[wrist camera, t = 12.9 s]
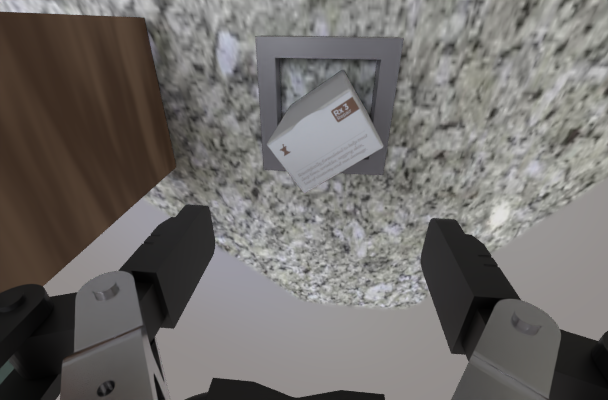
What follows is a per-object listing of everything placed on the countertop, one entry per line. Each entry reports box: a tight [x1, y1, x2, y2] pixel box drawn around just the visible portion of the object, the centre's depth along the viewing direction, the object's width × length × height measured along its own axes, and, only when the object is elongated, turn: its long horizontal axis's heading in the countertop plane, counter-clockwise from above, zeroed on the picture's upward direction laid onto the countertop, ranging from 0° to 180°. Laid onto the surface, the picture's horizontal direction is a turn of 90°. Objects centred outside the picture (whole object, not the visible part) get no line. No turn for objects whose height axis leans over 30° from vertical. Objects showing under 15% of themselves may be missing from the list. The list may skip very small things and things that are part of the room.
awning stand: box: [0, 12, 176, 384], centre depth 18 cm, size 6×15×26 cm, turn 179°
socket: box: [255, 36, 404, 175], centre depth 28 cm, size 12×12×2 cm
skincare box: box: [267, 70, 383, 193], centre depth 23 cm, size 6×4×12 cm
